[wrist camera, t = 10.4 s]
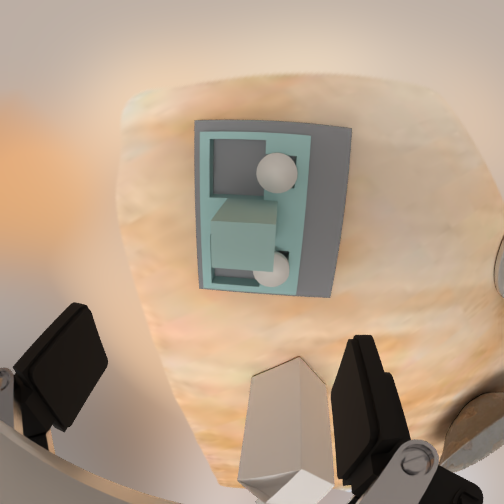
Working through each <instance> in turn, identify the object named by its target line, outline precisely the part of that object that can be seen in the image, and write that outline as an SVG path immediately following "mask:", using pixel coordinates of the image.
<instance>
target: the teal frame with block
mask: <svg viewBox="0 0 504 504" xmlns="http://www.w3.org/2000/svg"><path fill="white" fill-rule="evenodd" d="M214 139H249V140H266V154H271V153H283V154H285V155H289V156H296V159H295V165H296V167H297V180H296V182H295V184H294V185H293V187H292V188H291V189H289V190H288V191H286V192H283V193H271V192H269V191H267V190H265V189H264V196H253V195H232V194H213V146H214ZM310 144H311V136H309V135H297V134H284V133H265V132H200V217H201V247H202V269H203V288H210V289H221V290H233V291H245V292H258V293H271V294H286V295H296V291H297V284H298V275H299V267H300V258H301V249H302V240H303V230H304V220H305V209H306V198H307V186H308V173H309V159H310ZM275 250H276V251H289V252H288V262H289V276H288V278H287V280H286V281H285V282H284V283H283V284H281V285H279V286H276V287H267V286H264V285H261V284H260V283H259V282H258V281H257V280H256V279H248V278H235V277H222V276H215V269H214V268H225V269H238V270H251V271H265V272H273V265H274V251H275Z"/></svg>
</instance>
